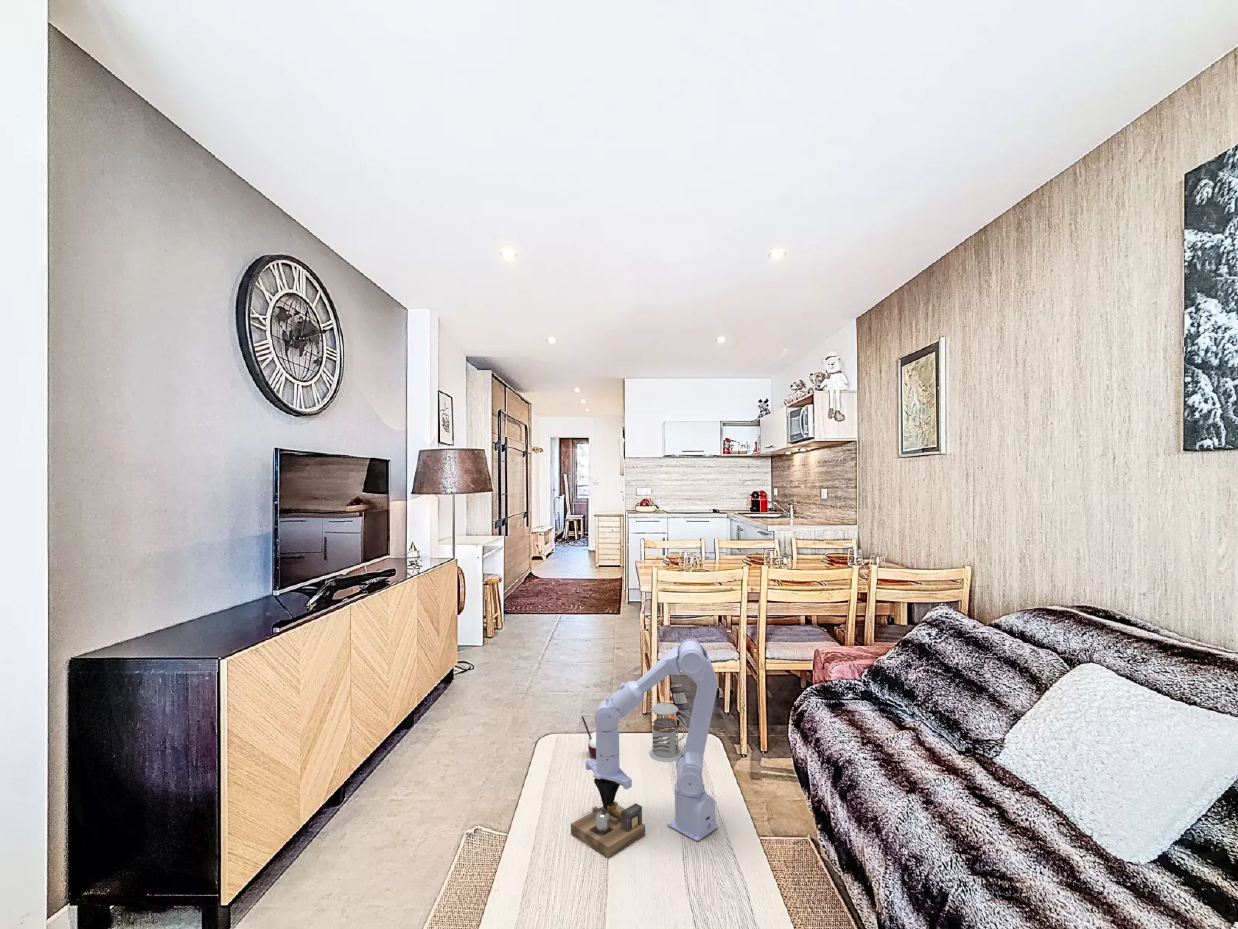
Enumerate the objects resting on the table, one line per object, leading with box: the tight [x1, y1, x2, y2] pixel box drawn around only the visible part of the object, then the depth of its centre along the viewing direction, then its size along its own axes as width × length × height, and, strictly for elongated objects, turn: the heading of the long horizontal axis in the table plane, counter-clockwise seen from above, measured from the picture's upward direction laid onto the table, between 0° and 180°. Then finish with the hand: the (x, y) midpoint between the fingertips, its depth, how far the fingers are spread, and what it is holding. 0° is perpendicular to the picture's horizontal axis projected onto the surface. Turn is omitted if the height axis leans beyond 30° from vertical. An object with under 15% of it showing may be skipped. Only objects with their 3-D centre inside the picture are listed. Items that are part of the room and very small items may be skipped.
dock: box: [570, 803, 646, 859], centre depth 148 cm, size 13×12×6 cm
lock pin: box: [607, 800, 638, 829], centre depth 150 cm, size 8×3×3 cm, turn 44°
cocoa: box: [581, 716, 597, 759], centre depth 189 cm, size 10×6×12 cm, turn 82°
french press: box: [648, 677, 687, 763], centre depth 188 cm, size 10×12×25 cm
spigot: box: [596, 811, 609, 837], centre depth 147 cm, size 3×3×6 cm
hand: (608, 807), depth 153 cm, fingers closed
